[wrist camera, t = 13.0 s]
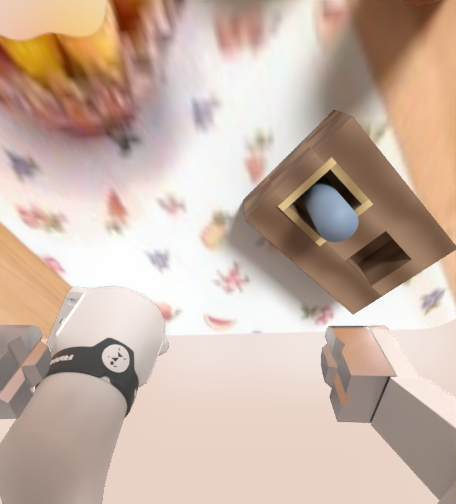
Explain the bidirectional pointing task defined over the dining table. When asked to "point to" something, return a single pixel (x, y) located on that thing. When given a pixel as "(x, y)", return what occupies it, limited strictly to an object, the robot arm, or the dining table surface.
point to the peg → (329, 211)
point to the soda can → (419, 2)
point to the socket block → (365, 206)
